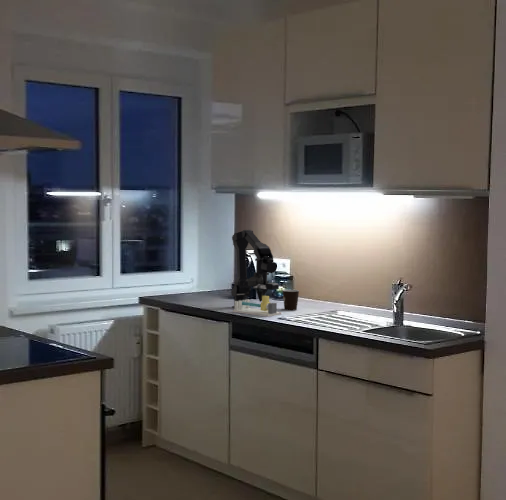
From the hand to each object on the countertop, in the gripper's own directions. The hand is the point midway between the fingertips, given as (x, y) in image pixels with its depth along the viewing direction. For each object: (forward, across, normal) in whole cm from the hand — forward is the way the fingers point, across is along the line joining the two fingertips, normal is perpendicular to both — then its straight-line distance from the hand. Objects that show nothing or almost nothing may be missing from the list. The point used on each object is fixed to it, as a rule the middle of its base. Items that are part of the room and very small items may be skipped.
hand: (260, 301), depth 405 cm
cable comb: (+6, -2, 0) cm, 7 cm away
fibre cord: (+6, -2, 0) cm, 7 cm away
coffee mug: (+6, +2, +23) cm, 24 cm away
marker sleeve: (+4, +3, 0) cm, 5 cm away
